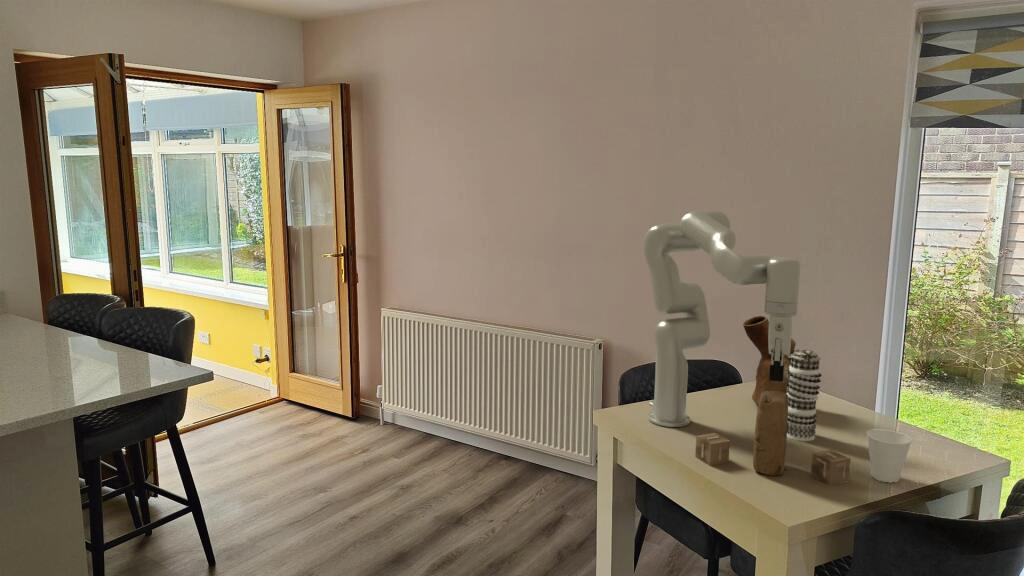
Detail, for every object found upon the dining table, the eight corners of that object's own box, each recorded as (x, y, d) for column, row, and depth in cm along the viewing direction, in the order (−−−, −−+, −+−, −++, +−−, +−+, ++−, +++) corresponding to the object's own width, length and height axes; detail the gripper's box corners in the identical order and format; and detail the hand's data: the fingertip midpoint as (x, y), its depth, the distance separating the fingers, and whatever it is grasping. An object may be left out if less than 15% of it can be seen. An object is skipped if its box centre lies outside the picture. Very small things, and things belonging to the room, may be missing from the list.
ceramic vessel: (814, 415, 216) (822, 322, 211) (744, 414, 216) (751, 321, 212) (795, 399, 231) (802, 312, 227) (730, 398, 232) (735, 311, 227)
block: (782, 479, 169) (788, 401, 166) (750, 473, 173) (755, 397, 169) (786, 463, 179) (792, 389, 176) (756, 458, 182) (761, 385, 179)
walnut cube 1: (694, 457, 183) (695, 435, 182) (713, 454, 185) (714, 432, 184) (709, 466, 177) (710, 443, 176) (728, 462, 179) (730, 440, 178)
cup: (888, 490, 164) (893, 446, 162) (853, 473, 173) (857, 432, 171) (917, 483, 168) (921, 440, 166) (881, 467, 177) (885, 426, 175)
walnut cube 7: (810, 475, 172) (812, 452, 171) (828, 472, 174) (830, 449, 173) (830, 486, 166) (832, 461, 165) (848, 482, 169) (851, 458, 168)
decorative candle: (800, 443, 193) (807, 357, 189) (775, 432, 201) (781, 349, 197) (823, 438, 197) (830, 353, 193) (797, 428, 205) (804, 346, 201)
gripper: (797, 314, 161) (791, 390, 164) (797, 304, 174) (792, 374, 177) (763, 311, 164) (758, 386, 166) (766, 302, 177) (761, 371, 180)
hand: (776, 380), depth 172 cm, fingers closed
